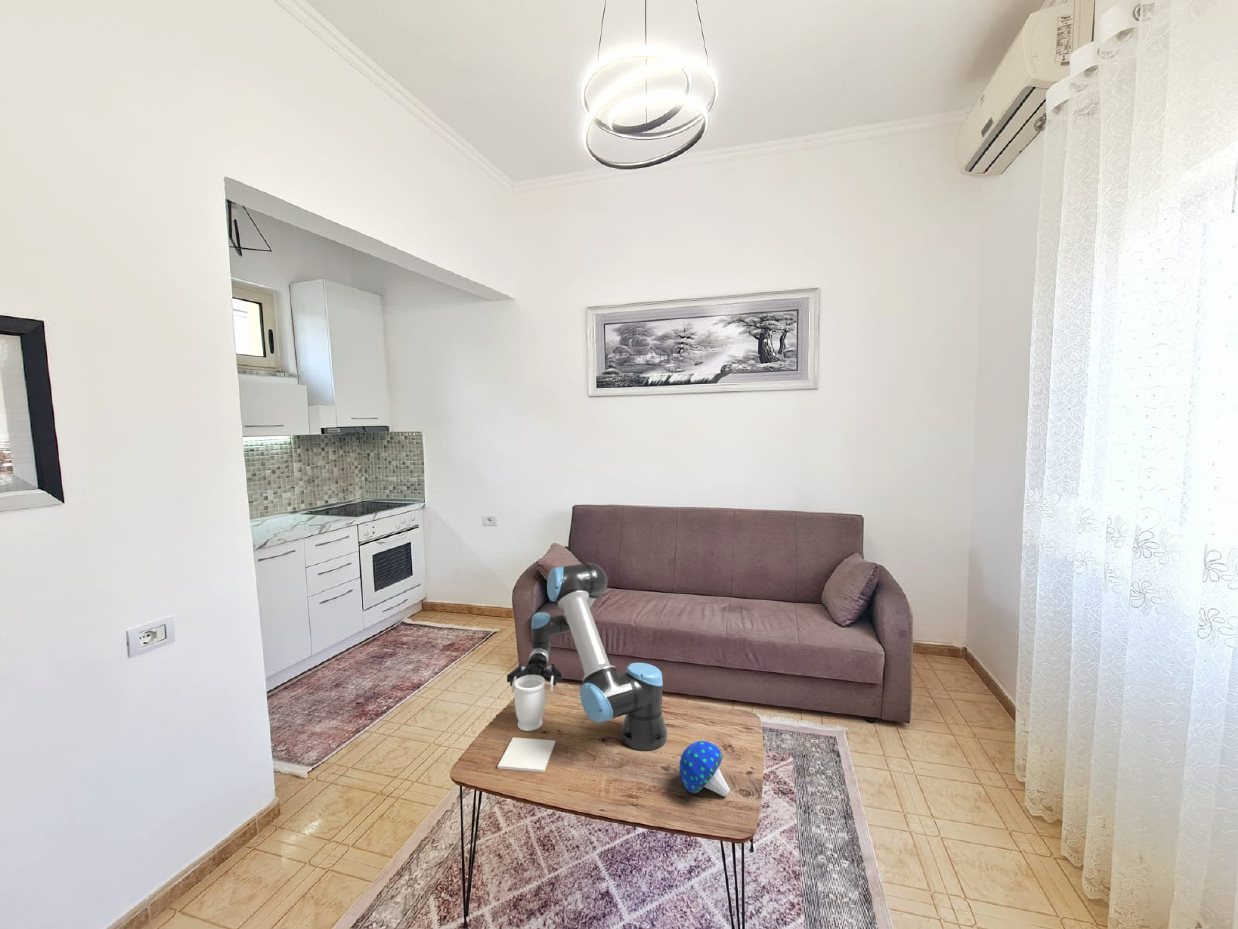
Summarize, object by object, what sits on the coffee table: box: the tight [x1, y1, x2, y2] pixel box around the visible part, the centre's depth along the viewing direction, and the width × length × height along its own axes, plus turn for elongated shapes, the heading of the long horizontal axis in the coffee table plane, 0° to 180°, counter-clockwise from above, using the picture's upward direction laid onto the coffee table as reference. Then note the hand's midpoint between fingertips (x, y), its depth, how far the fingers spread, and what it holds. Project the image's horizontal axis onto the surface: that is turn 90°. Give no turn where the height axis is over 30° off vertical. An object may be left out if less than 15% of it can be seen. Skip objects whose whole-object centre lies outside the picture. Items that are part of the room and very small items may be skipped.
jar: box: [514, 675, 547, 732], centre depth 167 cm, size 11×10×15 cm
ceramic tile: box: [497, 737, 556, 773], centre depth 151 cm, size 14×14×1 cm
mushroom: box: [679, 740, 731, 798], centre depth 137 cm, size 14×14×15 cm
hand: (532, 688), depth 175 cm, fingers open, 13 cm apart
